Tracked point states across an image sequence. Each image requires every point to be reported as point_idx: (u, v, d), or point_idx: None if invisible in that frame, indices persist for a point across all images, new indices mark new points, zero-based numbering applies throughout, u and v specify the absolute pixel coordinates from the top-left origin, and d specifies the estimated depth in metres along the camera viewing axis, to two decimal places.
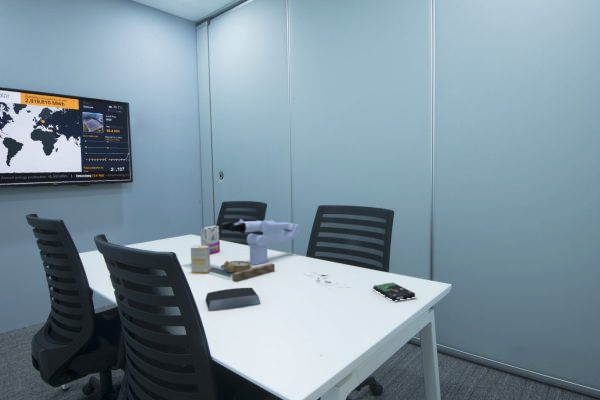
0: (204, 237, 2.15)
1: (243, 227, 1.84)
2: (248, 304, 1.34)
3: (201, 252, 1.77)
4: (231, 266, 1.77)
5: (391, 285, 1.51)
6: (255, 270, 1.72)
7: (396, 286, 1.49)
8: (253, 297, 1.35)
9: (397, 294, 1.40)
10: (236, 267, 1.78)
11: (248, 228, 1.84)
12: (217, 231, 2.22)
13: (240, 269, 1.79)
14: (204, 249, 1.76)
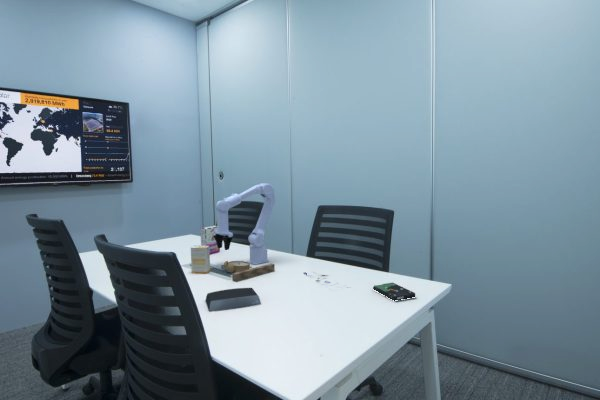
0: (204, 237, 2.15)
1: (227, 238, 1.86)
2: (248, 304, 1.34)
3: (201, 252, 1.77)
4: (231, 266, 1.77)
5: (391, 285, 1.51)
6: (255, 270, 1.72)
7: (396, 286, 1.49)
8: (253, 297, 1.35)
9: (397, 294, 1.40)
10: (236, 267, 1.78)
11: (231, 235, 1.84)
12: None
13: (240, 269, 1.79)
14: (204, 249, 1.76)
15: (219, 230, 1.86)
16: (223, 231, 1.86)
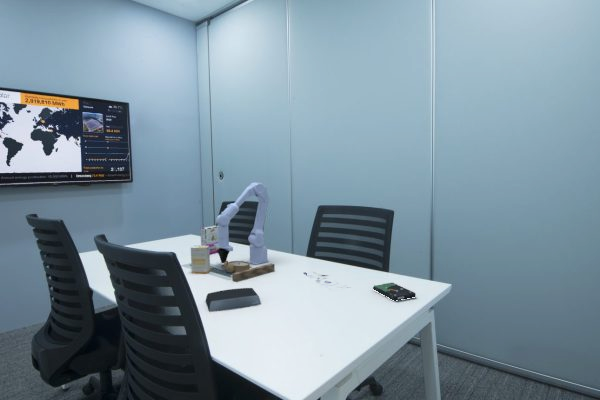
0: (204, 237, 2.15)
1: None
2: (249, 304, 1.34)
3: (201, 252, 1.77)
4: (231, 266, 1.77)
5: (390, 285, 1.51)
6: (255, 270, 1.72)
7: (396, 286, 1.49)
8: (254, 297, 1.35)
9: (398, 294, 1.40)
10: (236, 267, 1.78)
11: (231, 249, 1.85)
12: None
13: (240, 269, 1.79)
14: (204, 249, 1.76)
15: (219, 244, 1.87)
16: (223, 245, 1.87)
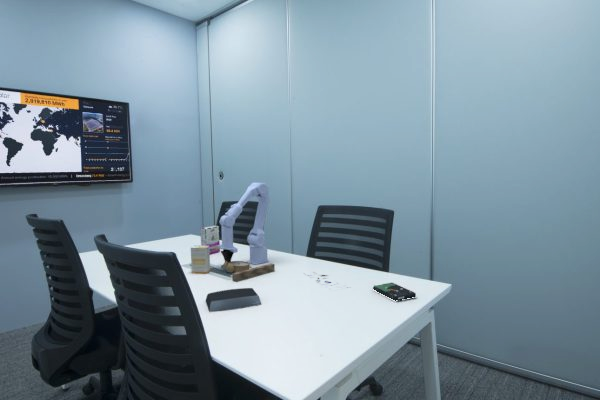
0: (204, 237, 2.15)
1: (229, 252, 1.86)
2: (249, 304, 1.34)
3: (201, 252, 1.77)
4: (231, 266, 1.77)
5: (390, 285, 1.51)
6: (255, 270, 1.72)
7: (396, 286, 1.49)
8: (254, 297, 1.35)
9: (398, 294, 1.40)
10: (236, 267, 1.78)
11: (235, 250, 1.82)
12: (217, 231, 2.22)
13: (240, 269, 1.79)
14: (204, 249, 1.76)
15: (224, 245, 1.84)
16: (228, 246, 1.84)
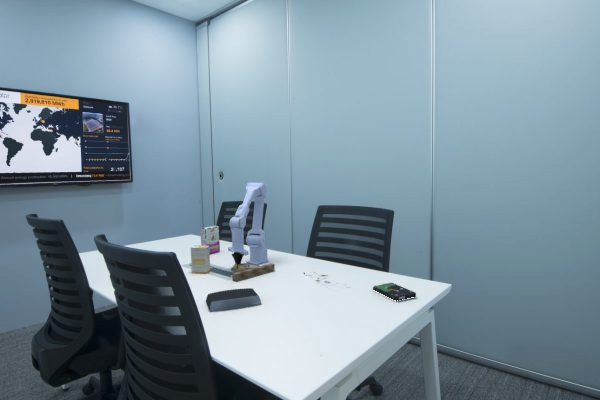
0: (204, 237, 2.15)
1: None
2: (249, 305, 1.33)
3: (201, 252, 1.77)
4: (243, 269, 1.72)
5: (390, 285, 1.51)
6: (255, 270, 1.72)
7: (396, 286, 1.49)
8: (254, 298, 1.35)
9: (399, 294, 1.40)
10: None
11: (246, 253, 1.76)
12: (217, 231, 2.22)
13: None
14: (204, 249, 1.76)
15: (234, 248, 1.78)
16: (238, 249, 1.78)
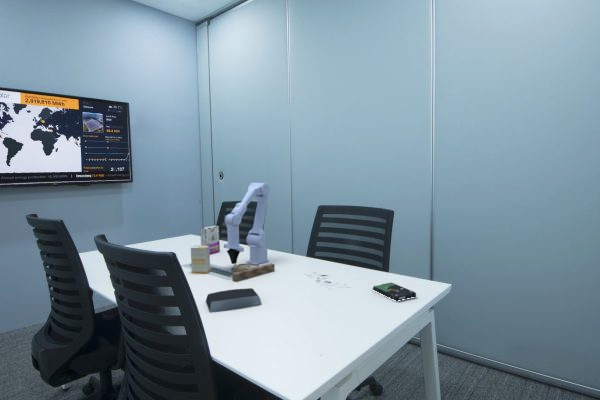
0: (204, 237, 2.15)
1: (235, 251, 1.82)
2: (249, 305, 1.33)
3: (201, 252, 1.77)
4: (243, 269, 1.72)
5: (390, 285, 1.51)
6: (255, 270, 1.72)
7: (396, 286, 1.49)
8: (254, 298, 1.35)
9: (399, 294, 1.40)
10: None
11: (242, 249, 1.78)
12: (217, 231, 2.22)
13: None
14: (204, 249, 1.76)
15: (230, 244, 1.81)
16: (234, 245, 1.81)
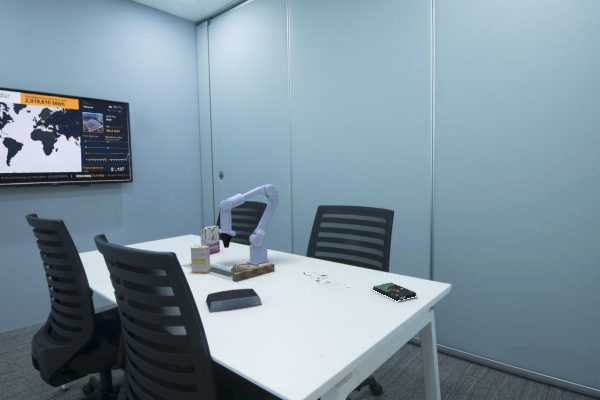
0: (204, 237, 2.15)
1: (227, 236, 1.91)
2: (249, 305, 1.33)
3: (201, 252, 1.77)
4: (243, 269, 1.72)
5: (390, 285, 1.51)
6: (255, 270, 1.72)
7: (396, 286, 1.50)
8: (254, 298, 1.35)
9: (399, 294, 1.40)
10: None
11: (234, 234, 1.87)
12: None
13: None
14: (204, 249, 1.76)
15: (222, 229, 1.90)
16: (226, 230, 1.89)
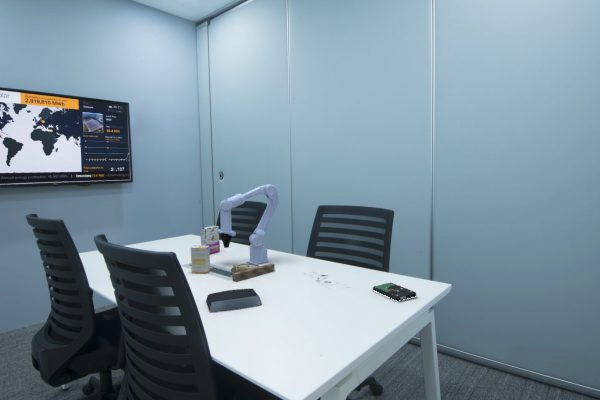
0: (204, 237, 2.15)
1: (227, 236, 1.91)
2: (249, 305, 1.33)
3: (201, 252, 1.77)
4: (243, 269, 1.72)
5: (390, 285, 1.51)
6: (255, 270, 1.72)
7: (395, 286, 1.50)
8: (254, 298, 1.34)
9: (400, 294, 1.40)
10: None
11: (234, 234, 1.87)
12: None
13: None
14: (204, 249, 1.76)
15: (222, 229, 1.90)
16: (226, 230, 1.89)
